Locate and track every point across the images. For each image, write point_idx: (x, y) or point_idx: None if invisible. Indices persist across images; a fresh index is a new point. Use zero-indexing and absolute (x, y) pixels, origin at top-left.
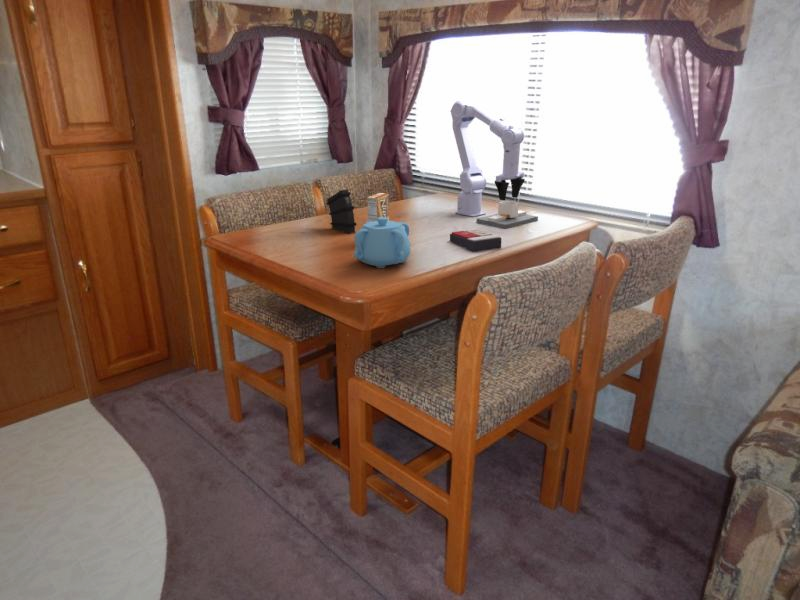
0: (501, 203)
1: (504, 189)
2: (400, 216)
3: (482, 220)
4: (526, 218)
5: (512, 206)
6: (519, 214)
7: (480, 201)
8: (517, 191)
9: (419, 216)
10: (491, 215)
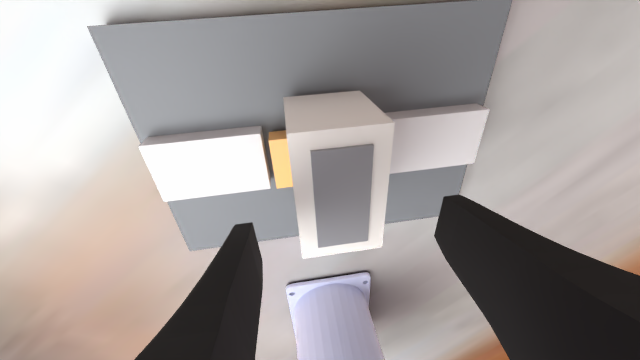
0: (383, 224)
1: (620, 272)
2: (498, 344)
3: (459, 181)
4: (232, 42)
5: (384, 117)
6: (226, 133)
7: (329, 341)
8: (238, 277)
9: (471, 331)
10: None
